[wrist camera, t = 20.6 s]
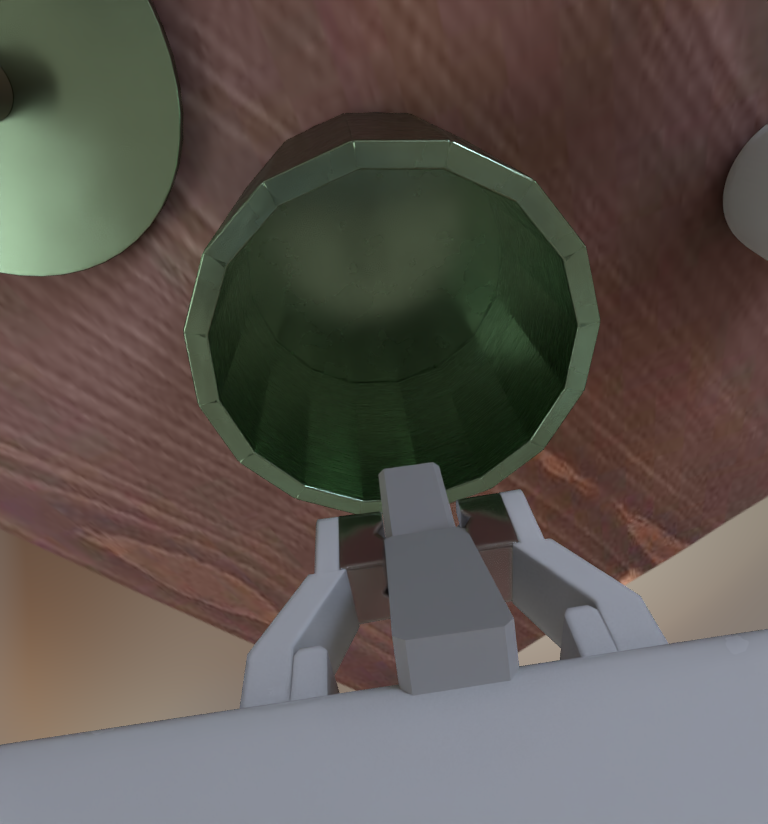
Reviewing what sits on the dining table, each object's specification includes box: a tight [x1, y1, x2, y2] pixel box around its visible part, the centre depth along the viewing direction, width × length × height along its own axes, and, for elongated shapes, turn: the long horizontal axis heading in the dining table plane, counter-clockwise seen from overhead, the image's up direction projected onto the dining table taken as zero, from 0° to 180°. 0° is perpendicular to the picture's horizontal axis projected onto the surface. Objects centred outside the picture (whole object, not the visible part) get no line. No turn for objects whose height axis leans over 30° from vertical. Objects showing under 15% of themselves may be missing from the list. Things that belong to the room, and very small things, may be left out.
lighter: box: [378, 462, 519, 696], centre depth 12 cm, size 7×2×8 cm, turn 6°
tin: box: [183, 112, 600, 514], centre depth 24 cm, size 14×14×10 cm
